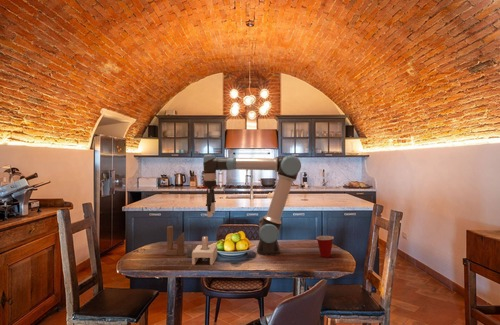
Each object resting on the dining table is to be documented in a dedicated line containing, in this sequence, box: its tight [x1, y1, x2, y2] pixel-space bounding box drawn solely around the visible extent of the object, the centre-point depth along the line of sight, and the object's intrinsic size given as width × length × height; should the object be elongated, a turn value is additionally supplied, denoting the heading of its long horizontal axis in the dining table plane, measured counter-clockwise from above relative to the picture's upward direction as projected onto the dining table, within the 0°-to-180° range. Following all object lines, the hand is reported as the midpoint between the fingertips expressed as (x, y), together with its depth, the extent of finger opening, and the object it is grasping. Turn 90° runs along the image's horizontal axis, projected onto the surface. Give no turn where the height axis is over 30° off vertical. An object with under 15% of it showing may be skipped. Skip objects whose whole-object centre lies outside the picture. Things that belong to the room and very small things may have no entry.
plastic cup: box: [315, 235, 334, 258], centre depth 199 cm, size 11×11×12 cm
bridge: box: [191, 244, 218, 266], centre depth 192 cm, size 12×16×7 cm
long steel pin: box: [201, 235, 209, 262], centre depth 192 cm, size 4×4×14 cm
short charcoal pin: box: [186, 244, 194, 258], centre depth 200 cm, size 4×4×7 cm
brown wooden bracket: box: [165, 225, 185, 257], centre depth 203 cm, size 4×11×18 cm, turn 85°
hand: (211, 215), depth 196 cm, fingers open, 13 cm apart
